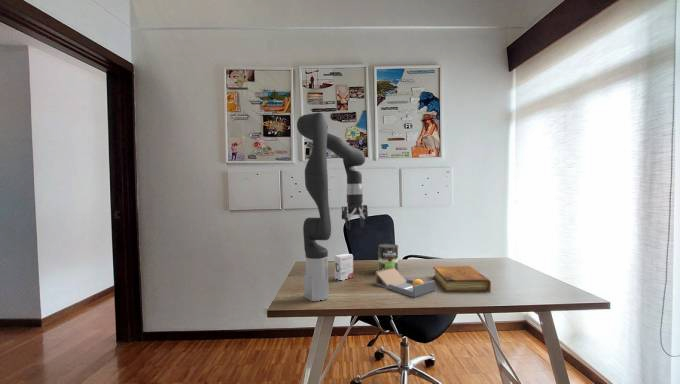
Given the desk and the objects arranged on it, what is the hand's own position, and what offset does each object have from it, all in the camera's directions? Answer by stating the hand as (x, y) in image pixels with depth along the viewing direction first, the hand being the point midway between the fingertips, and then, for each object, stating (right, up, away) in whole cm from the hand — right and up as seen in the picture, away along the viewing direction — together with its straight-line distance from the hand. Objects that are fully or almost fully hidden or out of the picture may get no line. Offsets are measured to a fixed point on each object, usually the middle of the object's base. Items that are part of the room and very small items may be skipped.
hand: (355, 227), depth 156 cm
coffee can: (+18, -26, +17) cm, 36 cm away
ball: (+26, -23, -15) cm, 38 cm away
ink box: (-5, -26, +7) cm, 28 cm away
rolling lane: (+21, -26, -9) cm, 35 cm away
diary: (+48, -26, -4) cm, 55 cm away
